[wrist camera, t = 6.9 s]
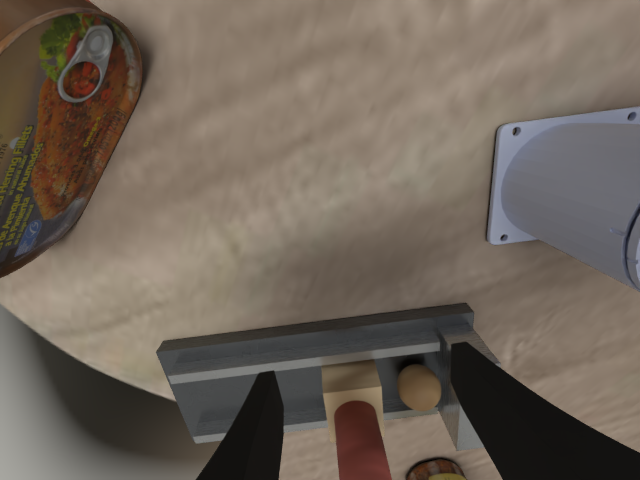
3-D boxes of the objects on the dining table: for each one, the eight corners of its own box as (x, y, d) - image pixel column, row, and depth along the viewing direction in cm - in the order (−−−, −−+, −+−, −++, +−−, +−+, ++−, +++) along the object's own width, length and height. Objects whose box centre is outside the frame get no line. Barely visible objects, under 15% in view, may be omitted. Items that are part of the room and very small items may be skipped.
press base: (466, 303, 24) (507, 350, 19) (459, 395, 27) (492, 455, 22) (163, 341, 24) (126, 398, 19) (197, 427, 27) (174, 493, 23)
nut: (431, 352, 24) (449, 386, 21) (431, 382, 25) (447, 418, 22) (391, 357, 24) (403, 392, 21) (392, 387, 25) (404, 423, 22)
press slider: (372, 354, 23) (409, 487, 15) (375, 400, 25) (410, 542, 17) (321, 360, 23) (328, 496, 15) (328, 406, 25) (338, 550, 17)
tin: (65, 249, 21) (-82, 328, 13) (17, 223, 20) (-172, 291, 12) (167, 46, 16) (40, -18, 9) (111, 3, 16) (-84, -111, 8)
